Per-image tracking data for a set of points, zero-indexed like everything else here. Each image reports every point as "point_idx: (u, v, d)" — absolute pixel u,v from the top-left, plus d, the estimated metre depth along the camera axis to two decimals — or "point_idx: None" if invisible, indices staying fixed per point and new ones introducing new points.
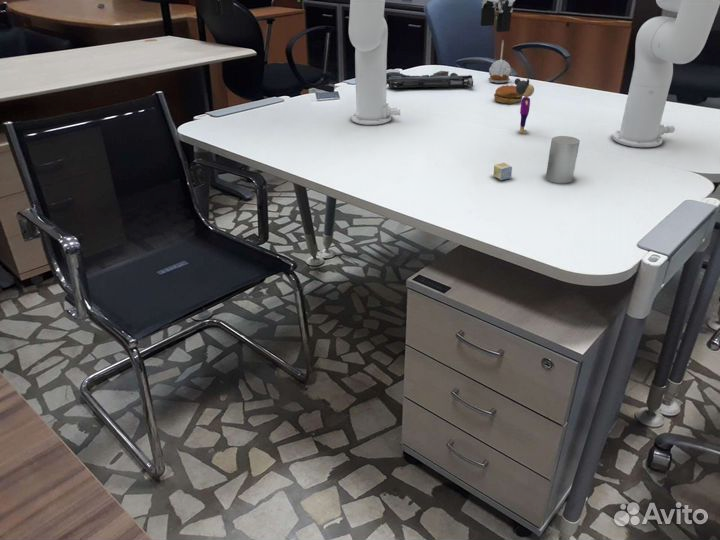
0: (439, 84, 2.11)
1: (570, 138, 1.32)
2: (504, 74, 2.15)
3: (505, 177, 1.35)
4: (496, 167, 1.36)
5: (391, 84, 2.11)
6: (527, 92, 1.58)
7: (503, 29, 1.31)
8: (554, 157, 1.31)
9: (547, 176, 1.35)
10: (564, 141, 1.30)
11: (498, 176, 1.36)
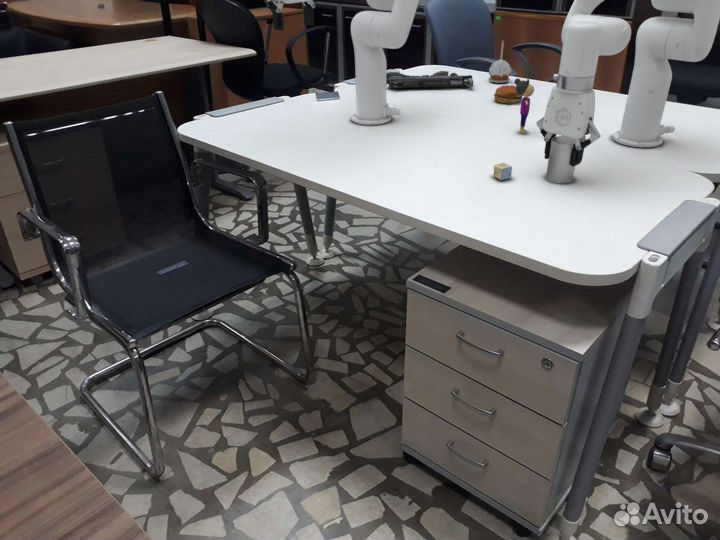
0: (439, 84, 2.11)
1: (570, 138, 1.32)
2: (504, 74, 2.15)
3: (505, 177, 1.35)
4: (496, 167, 1.36)
5: (391, 84, 2.11)
6: (527, 92, 1.58)
7: None
8: (554, 157, 1.31)
9: (547, 176, 1.35)
10: (564, 141, 1.30)
11: (498, 176, 1.36)
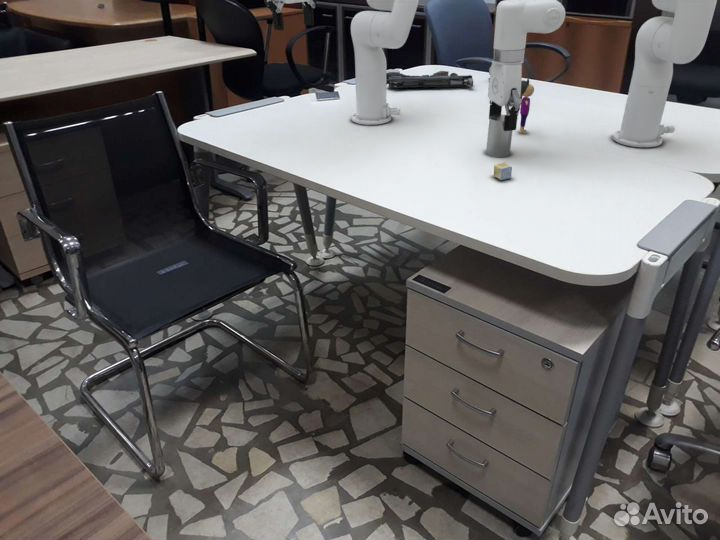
0: (439, 84, 2.11)
1: None
2: None
3: (505, 177, 1.35)
4: (496, 167, 1.36)
5: (391, 84, 2.11)
6: (527, 92, 1.58)
7: None
8: (488, 132, 1.49)
9: (486, 149, 1.53)
10: (498, 118, 1.47)
11: (498, 176, 1.36)
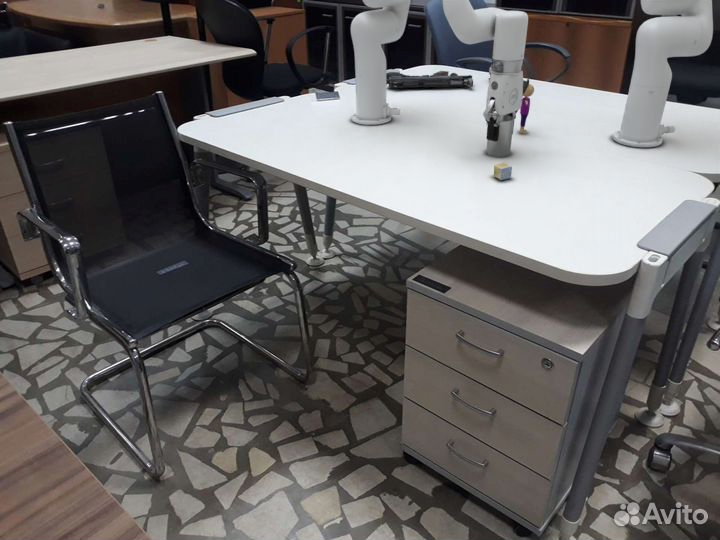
0: (439, 84, 2.11)
1: (508, 117, 1.47)
2: None
3: (505, 177, 1.35)
4: (496, 167, 1.36)
5: (391, 84, 2.11)
6: (527, 92, 1.58)
7: None
8: None
9: None
10: None
11: (498, 176, 1.36)
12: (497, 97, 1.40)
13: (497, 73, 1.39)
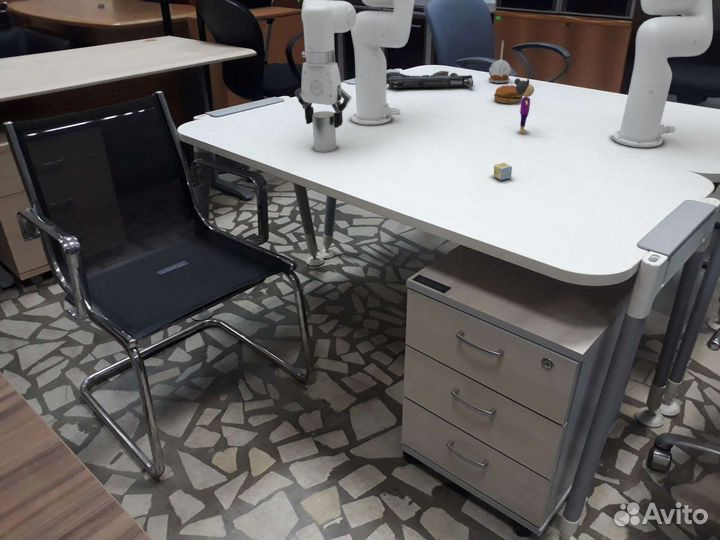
0: (439, 84, 2.11)
1: (325, 115, 1.52)
2: (504, 74, 2.15)
3: (505, 177, 1.35)
4: (496, 167, 1.36)
5: (391, 84, 2.11)
6: (527, 92, 1.58)
7: None
8: None
9: None
10: (321, 113, 1.54)
11: (498, 176, 1.36)
12: None
13: None
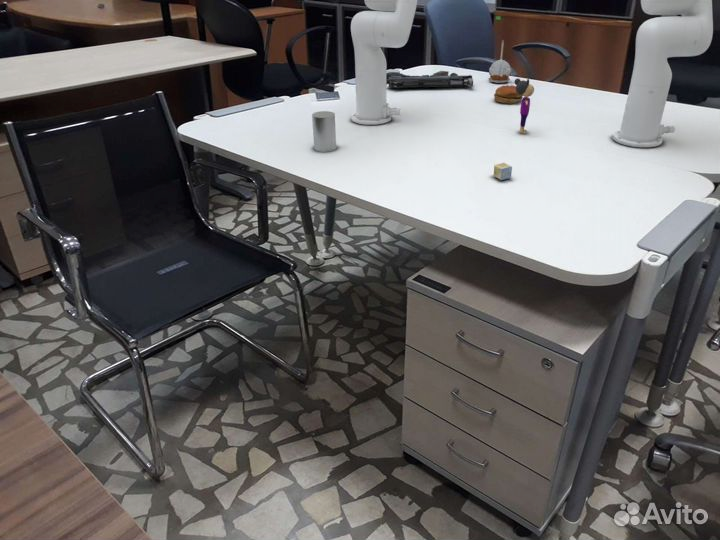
0: (439, 84, 2.11)
1: (325, 115, 1.52)
2: (504, 74, 2.15)
3: (505, 177, 1.35)
4: (496, 167, 1.36)
5: (391, 84, 2.11)
6: (527, 92, 1.58)
7: None
8: None
9: None
10: (321, 113, 1.54)
11: (498, 176, 1.36)
12: None
13: None
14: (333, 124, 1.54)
